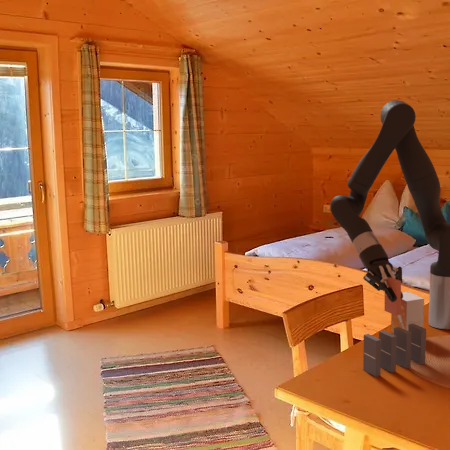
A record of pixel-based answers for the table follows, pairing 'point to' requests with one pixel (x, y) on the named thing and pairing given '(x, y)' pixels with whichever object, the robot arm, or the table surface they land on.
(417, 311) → the small box
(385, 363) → the domino
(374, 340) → the domino
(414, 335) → the domino
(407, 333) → the domino
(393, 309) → the domino
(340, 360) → the table surface
